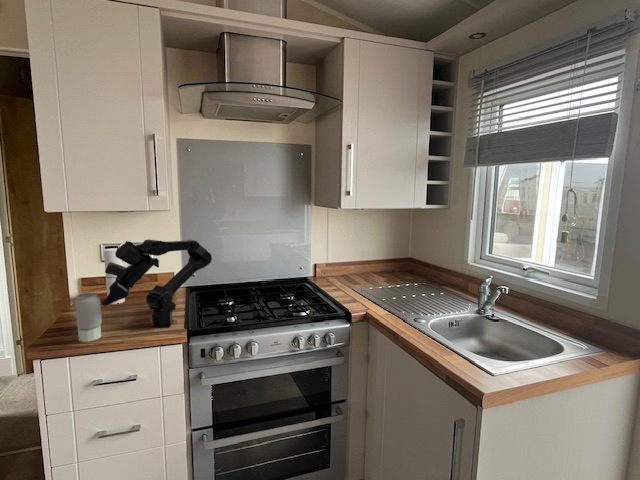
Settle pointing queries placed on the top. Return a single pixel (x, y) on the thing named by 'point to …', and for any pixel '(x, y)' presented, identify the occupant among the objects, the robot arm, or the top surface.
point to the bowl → (89, 334)
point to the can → (88, 311)
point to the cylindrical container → (110, 257)
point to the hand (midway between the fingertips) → (105, 301)
